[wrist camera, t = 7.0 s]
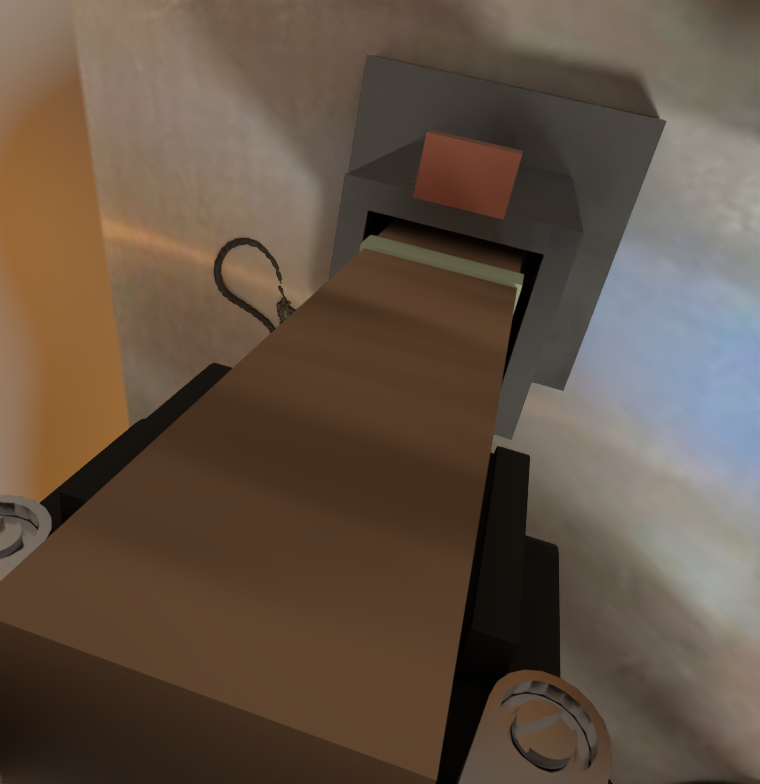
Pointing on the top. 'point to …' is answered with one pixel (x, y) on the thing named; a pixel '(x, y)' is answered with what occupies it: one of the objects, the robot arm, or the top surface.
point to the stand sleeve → (501, 195)
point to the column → (279, 549)
